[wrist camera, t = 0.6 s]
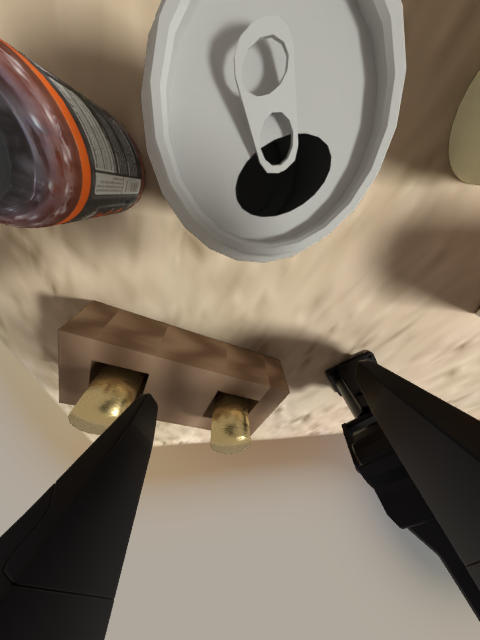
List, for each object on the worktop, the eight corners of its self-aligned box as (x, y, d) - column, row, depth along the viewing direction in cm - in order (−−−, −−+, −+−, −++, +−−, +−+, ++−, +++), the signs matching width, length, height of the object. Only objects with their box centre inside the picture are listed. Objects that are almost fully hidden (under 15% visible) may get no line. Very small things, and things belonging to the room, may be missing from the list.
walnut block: (279, 360, 26) (289, 392, 22) (246, 403, 30) (249, 437, 26) (93, 300, 20) (58, 329, 15) (87, 366, 24) (59, 402, 20)
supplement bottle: (80, 213, 16) (-147, 245, 6) (37, 105, 12) (-586, -181, 3) (156, 212, 16) (53, 241, 6) (134, 106, 13) (-142, -152, 3)
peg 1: (147, 366, 20) (126, 413, 16) (139, 390, 22) (119, 437, 18) (103, 355, 19) (68, 402, 15) (100, 381, 21) (68, 430, 16)
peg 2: (252, 393, 23) (257, 437, 19) (238, 412, 25) (240, 456, 21) (220, 385, 22) (219, 430, 18) (208, 405, 24) (204, 450, 20)
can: (218, 240, 17) (206, 307, 7) (172, 132, 13) (11, -50, 3) (301, 205, 16) (423, 226, 6) (278, 76, 12) (513, -451, 2)
